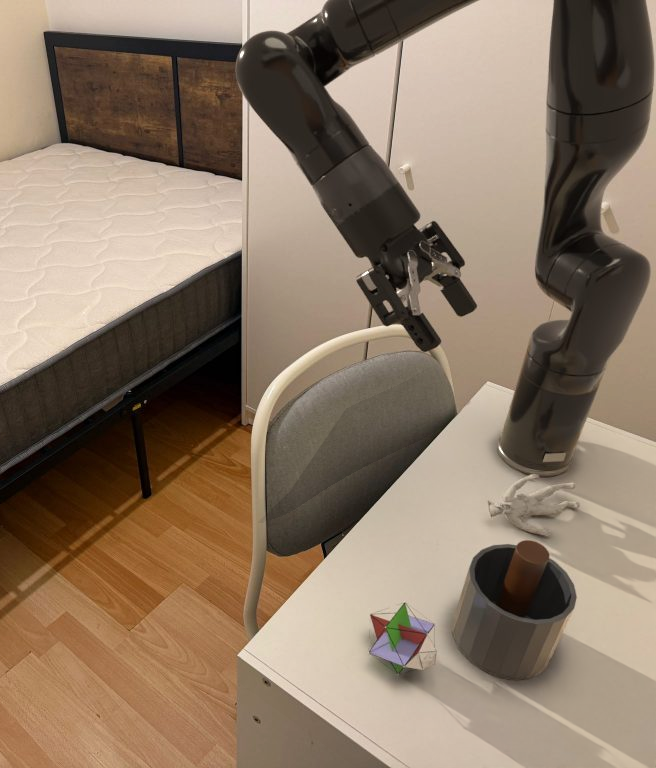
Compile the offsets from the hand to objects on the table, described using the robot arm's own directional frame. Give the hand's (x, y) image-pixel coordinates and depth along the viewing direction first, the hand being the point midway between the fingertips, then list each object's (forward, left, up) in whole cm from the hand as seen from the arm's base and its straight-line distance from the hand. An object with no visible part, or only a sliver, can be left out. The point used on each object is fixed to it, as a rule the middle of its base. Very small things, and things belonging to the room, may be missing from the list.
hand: (451, 329), depth 76 cm
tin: (+11, +14, -31) cm, 35 cm away
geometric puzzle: (+19, +5, -31) cm, 36 cm away
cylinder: (+11, +14, -30) cm, 35 cm away
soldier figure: (-10, +13, -31) cm, 35 cm away
